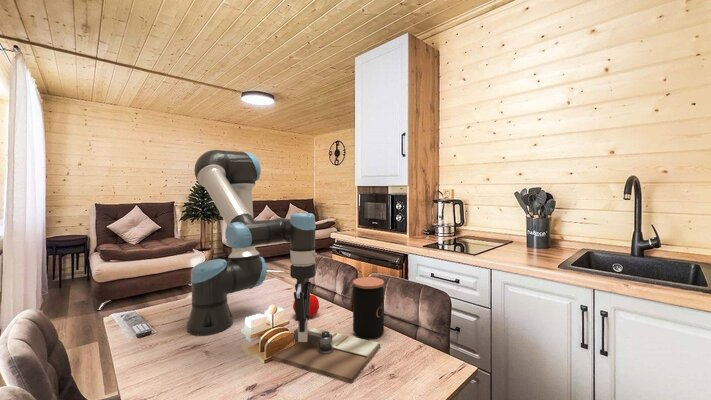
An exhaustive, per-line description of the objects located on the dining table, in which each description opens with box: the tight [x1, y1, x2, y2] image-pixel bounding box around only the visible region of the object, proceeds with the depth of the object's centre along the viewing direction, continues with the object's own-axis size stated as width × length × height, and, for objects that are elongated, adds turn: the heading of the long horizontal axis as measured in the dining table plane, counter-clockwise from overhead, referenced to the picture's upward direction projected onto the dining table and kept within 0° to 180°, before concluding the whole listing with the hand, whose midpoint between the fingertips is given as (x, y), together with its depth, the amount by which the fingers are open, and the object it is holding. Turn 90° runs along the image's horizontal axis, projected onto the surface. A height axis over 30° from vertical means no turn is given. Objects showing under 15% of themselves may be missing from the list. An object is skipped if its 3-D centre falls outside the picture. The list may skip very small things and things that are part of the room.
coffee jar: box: [352, 276, 385, 340], centre depth 110 cm, size 11×11×18 cm
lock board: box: [271, 327, 381, 384], centre depth 96 cm, size 26×20×2 cm
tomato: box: [292, 294, 320, 318], centre depth 125 cm, size 9×10×8 cm
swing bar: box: [293, 328, 332, 351], centre depth 98 cm, size 13×4×4 cm, turn 63°
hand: (302, 340), depth 97 cm, fingers closed
